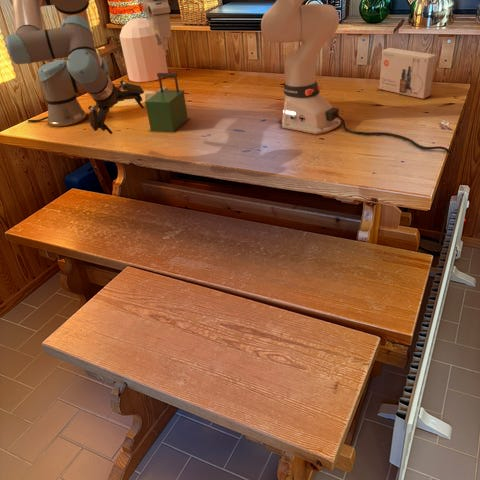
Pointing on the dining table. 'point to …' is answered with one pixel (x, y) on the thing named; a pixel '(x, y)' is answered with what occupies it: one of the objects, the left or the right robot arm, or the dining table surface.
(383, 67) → the skincare box
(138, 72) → the container
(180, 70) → the dining table surface
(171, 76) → the lid
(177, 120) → the chest
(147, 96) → the rock
